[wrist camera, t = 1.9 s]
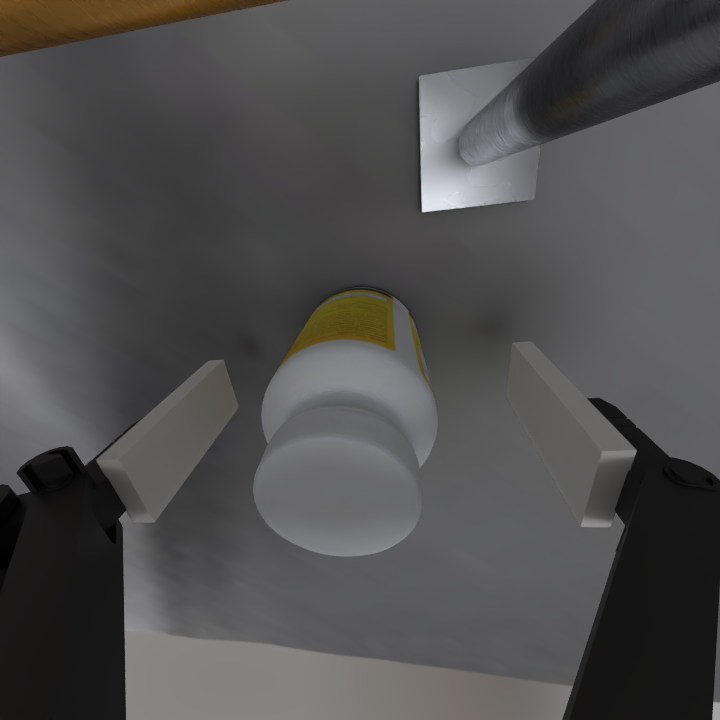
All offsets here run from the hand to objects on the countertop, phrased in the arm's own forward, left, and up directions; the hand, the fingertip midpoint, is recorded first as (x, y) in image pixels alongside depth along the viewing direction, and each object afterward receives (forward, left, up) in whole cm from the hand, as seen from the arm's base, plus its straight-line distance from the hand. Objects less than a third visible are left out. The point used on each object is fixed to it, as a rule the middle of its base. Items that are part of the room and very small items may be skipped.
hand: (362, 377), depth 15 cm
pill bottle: (0, 0, -5) cm, 5 cm away
